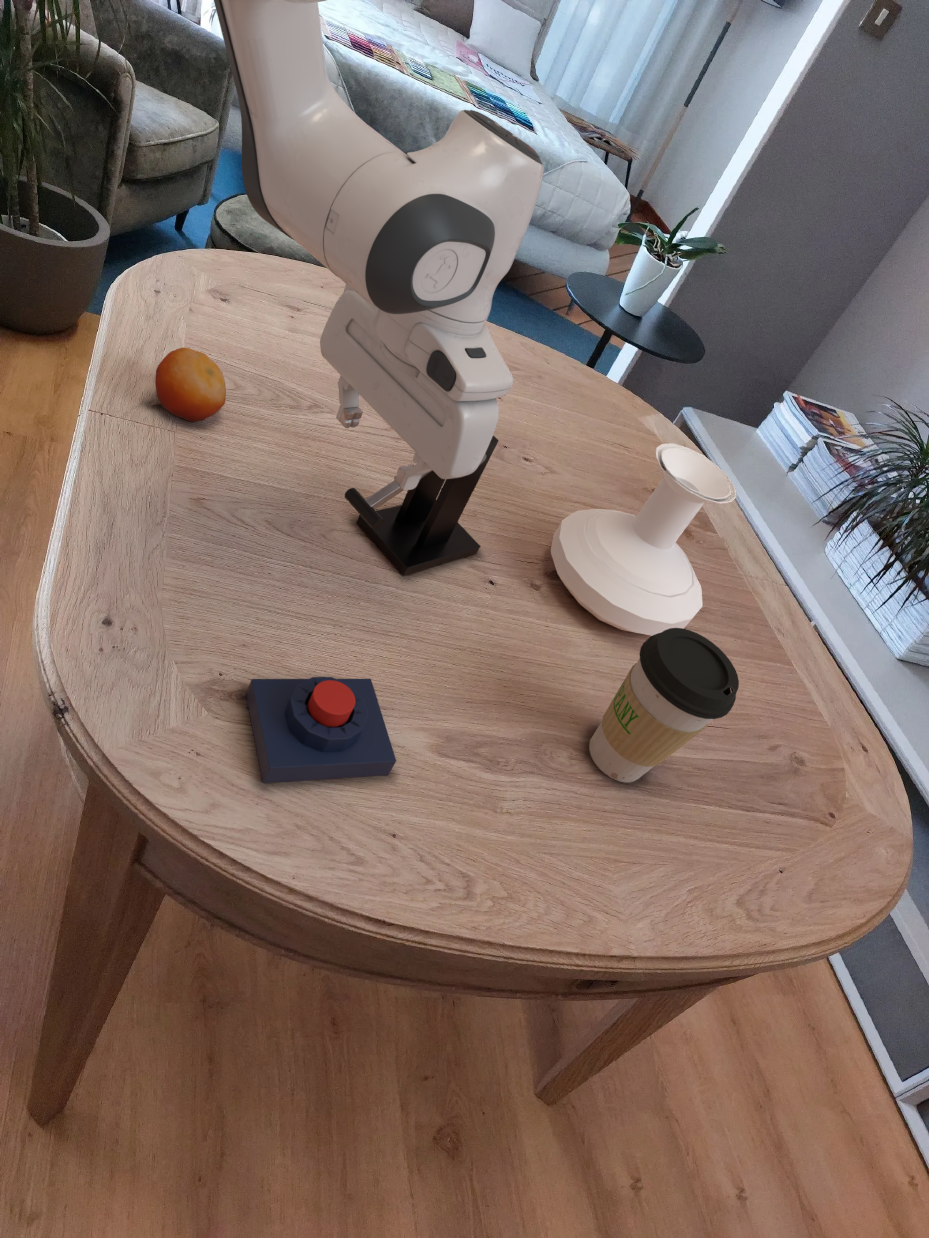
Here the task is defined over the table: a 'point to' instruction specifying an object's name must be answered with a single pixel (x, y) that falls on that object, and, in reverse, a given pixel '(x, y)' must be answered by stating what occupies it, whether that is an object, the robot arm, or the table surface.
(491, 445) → the bracket
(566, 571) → the candle holder
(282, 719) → the control block
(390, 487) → the lever
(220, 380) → the fruit
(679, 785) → the table surface
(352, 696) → the button
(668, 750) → the coffee cup
